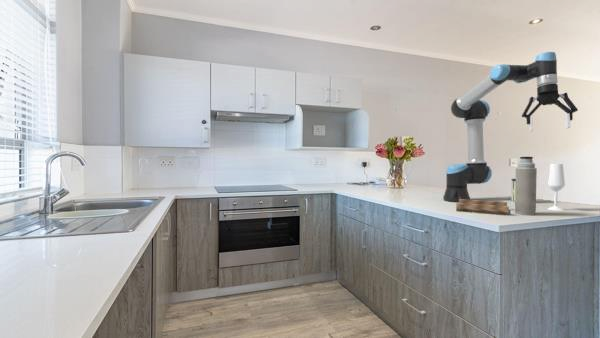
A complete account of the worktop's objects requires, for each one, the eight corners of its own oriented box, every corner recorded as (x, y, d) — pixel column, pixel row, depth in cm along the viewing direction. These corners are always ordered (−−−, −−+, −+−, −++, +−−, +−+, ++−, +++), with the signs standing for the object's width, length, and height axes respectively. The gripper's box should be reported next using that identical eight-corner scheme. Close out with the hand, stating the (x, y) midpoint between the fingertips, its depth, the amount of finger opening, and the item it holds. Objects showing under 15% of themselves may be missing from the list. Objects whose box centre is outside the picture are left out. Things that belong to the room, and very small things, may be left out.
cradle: (506, 209, 151) (506, 202, 151) (508, 215, 136) (508, 207, 136) (459, 206, 163) (459, 199, 163) (456, 211, 148) (456, 203, 148)
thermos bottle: (511, 212, 144) (512, 156, 143) (528, 212, 143) (529, 156, 142) (521, 215, 136) (523, 156, 135) (539, 215, 135) (541, 156, 134)
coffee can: (531, 201, 176) (531, 178, 175) (533, 203, 167) (534, 180, 166) (510, 200, 181) (510, 178, 180) (511, 202, 172) (512, 179, 172)
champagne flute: (560, 208, 151) (561, 163, 150) (567, 211, 145) (568, 163, 144) (544, 208, 153) (545, 163, 152) (550, 210, 147) (551, 164, 146)
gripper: (516, 87, 139) (518, 130, 139) (585, 78, 128) (588, 125, 127) (513, 91, 146) (515, 132, 145) (579, 82, 134) (581, 127, 133)
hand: (549, 129), depth 136 cm, fingers open, 13 cm apart
